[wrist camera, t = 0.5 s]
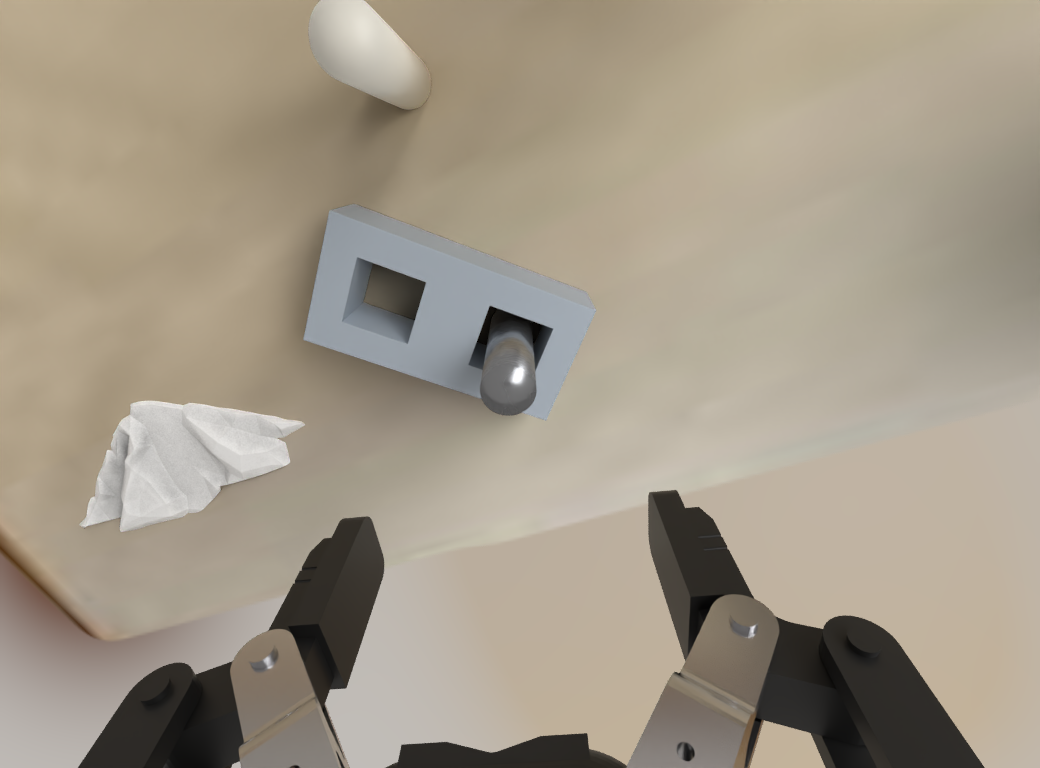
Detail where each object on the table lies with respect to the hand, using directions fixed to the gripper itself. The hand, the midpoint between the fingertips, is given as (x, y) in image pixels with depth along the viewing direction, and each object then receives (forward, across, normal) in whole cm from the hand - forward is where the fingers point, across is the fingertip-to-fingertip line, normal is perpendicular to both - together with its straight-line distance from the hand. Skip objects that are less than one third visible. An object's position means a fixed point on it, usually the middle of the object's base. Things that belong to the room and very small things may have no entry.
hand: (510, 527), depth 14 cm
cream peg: (+26, +6, -15) cm, 30 cm away
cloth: (+26, +32, +12) cm, 43 cm away
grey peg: (+26, +1, +2) cm, 26 cm away
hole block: (+26, +5, 0) cm, 26 cm away
